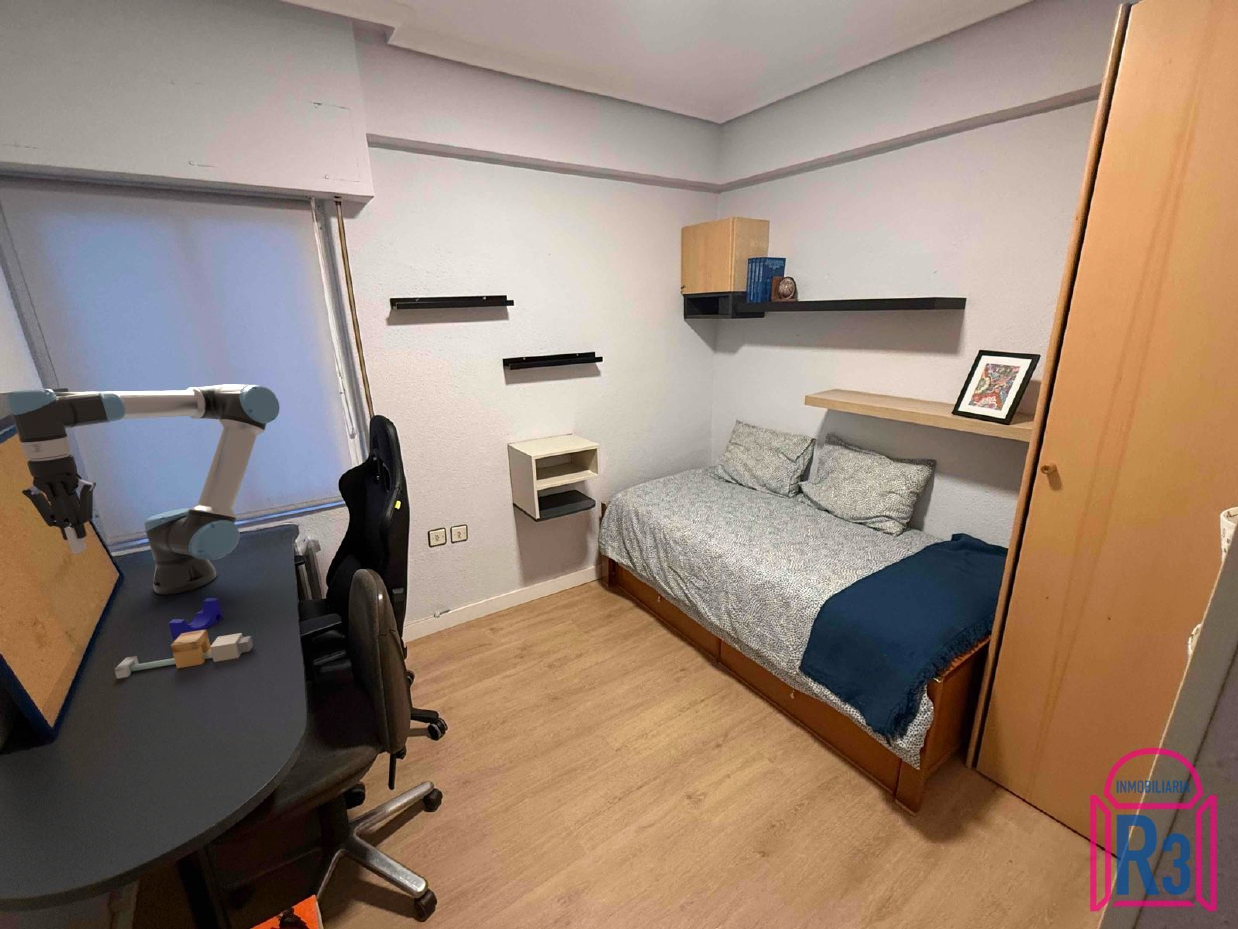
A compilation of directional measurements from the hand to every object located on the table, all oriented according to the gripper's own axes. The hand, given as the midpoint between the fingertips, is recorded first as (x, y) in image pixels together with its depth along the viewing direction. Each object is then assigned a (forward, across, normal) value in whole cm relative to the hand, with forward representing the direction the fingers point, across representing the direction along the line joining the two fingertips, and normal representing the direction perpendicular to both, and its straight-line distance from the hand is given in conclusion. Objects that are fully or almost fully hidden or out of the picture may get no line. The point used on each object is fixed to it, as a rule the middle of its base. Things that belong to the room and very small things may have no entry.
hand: (79, 550), depth 128 cm
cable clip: (+25, +20, -2) cm, 32 cm away
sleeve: (+24, +26, -18) cm, 40 cm away
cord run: (+24, +25, -18) cm, 39 cm away
